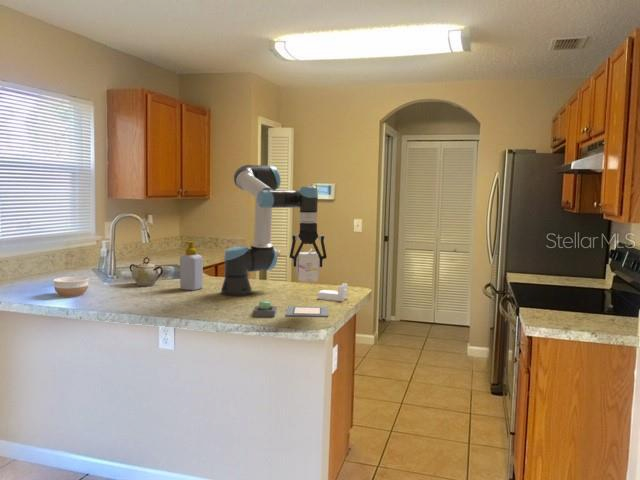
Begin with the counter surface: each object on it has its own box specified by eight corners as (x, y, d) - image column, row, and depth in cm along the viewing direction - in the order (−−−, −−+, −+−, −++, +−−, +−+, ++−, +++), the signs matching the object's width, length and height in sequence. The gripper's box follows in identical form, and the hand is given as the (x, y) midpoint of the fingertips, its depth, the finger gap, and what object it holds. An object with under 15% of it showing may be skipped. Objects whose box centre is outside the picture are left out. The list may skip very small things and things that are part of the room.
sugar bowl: (169, 283, 294) (169, 256, 292) (155, 288, 279) (155, 259, 278) (137, 281, 298) (137, 254, 296) (122, 286, 283) (121, 258, 282)
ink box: (297, 278, 234) (298, 247, 233) (316, 278, 235) (317, 248, 233) (298, 281, 225) (298, 250, 224) (318, 281, 226) (318, 250, 225)
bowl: (96, 293, 264) (96, 277, 263) (69, 299, 249) (69, 283, 248) (73, 290, 270) (73, 275, 269) (46, 296, 256) (45, 280, 255)
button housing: (253, 316, 222) (252, 310, 222) (255, 311, 231) (255, 305, 231) (274, 317, 222) (274, 311, 222) (276, 311, 231) (276, 306, 231)
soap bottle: (179, 289, 276) (178, 241, 273) (189, 286, 284) (189, 240, 282) (193, 291, 273) (193, 242, 270) (203, 288, 281) (203, 240, 278)
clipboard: (285, 316, 224) (285, 314, 224) (287, 307, 240) (287, 305, 240) (328, 316, 224) (328, 315, 224) (327, 308, 240) (327, 306, 240)
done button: (258, 310, 224) (258, 303, 224) (259, 307, 229) (259, 300, 229) (270, 310, 224) (270, 303, 224) (271, 307, 229) (271, 300, 229)
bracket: (347, 299, 261) (347, 283, 260) (342, 301, 254) (343, 286, 254) (322, 296, 265) (322, 281, 265) (317, 299, 259) (317, 284, 258)
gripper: (282, 222, 224) (282, 275, 226) (333, 223, 224) (332, 276, 226) (284, 221, 231) (283, 272, 234) (333, 222, 231) (332, 273, 234)
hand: (307, 274), depth 230 cm, fingers closed on ink box, 9 cm apart
